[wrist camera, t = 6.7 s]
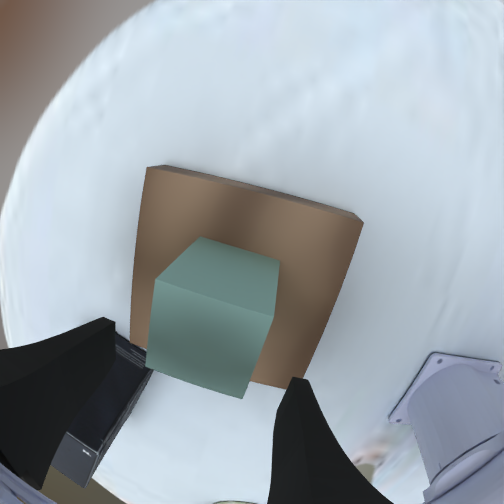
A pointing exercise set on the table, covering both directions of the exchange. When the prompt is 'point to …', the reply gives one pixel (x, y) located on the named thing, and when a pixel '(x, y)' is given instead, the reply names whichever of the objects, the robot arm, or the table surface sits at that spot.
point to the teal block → (212, 316)
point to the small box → (103, 415)
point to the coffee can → (233, 502)
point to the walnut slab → (254, 240)
